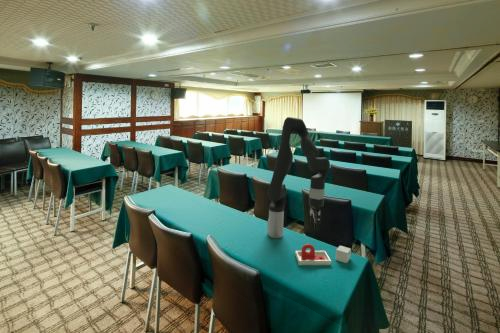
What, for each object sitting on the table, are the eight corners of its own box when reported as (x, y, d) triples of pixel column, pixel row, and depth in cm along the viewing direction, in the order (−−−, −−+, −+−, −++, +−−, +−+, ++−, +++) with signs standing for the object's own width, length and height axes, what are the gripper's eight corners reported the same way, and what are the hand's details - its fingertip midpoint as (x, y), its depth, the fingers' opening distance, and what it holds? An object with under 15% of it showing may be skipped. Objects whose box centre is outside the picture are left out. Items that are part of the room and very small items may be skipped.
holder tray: (295, 254, 154) (295, 250, 154) (324, 254, 155) (325, 250, 154) (299, 265, 144) (299, 260, 143) (330, 265, 144) (331, 260, 144)
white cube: (335, 259, 150) (336, 249, 149) (339, 255, 155) (339, 245, 154) (346, 263, 147) (347, 252, 145) (350, 258, 151) (351, 248, 150)
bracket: (302, 261, 146) (303, 247, 144) (301, 257, 150) (301, 243, 149) (325, 262, 146) (326, 248, 144) (323, 257, 150) (324, 244, 149)
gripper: (306, 192, 149) (304, 220, 152) (312, 200, 135) (310, 231, 138) (320, 192, 149) (317, 220, 153) (328, 200, 135) (325, 232, 139)
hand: (314, 226), depth 146 cm, fingers open, 8 cm apart
